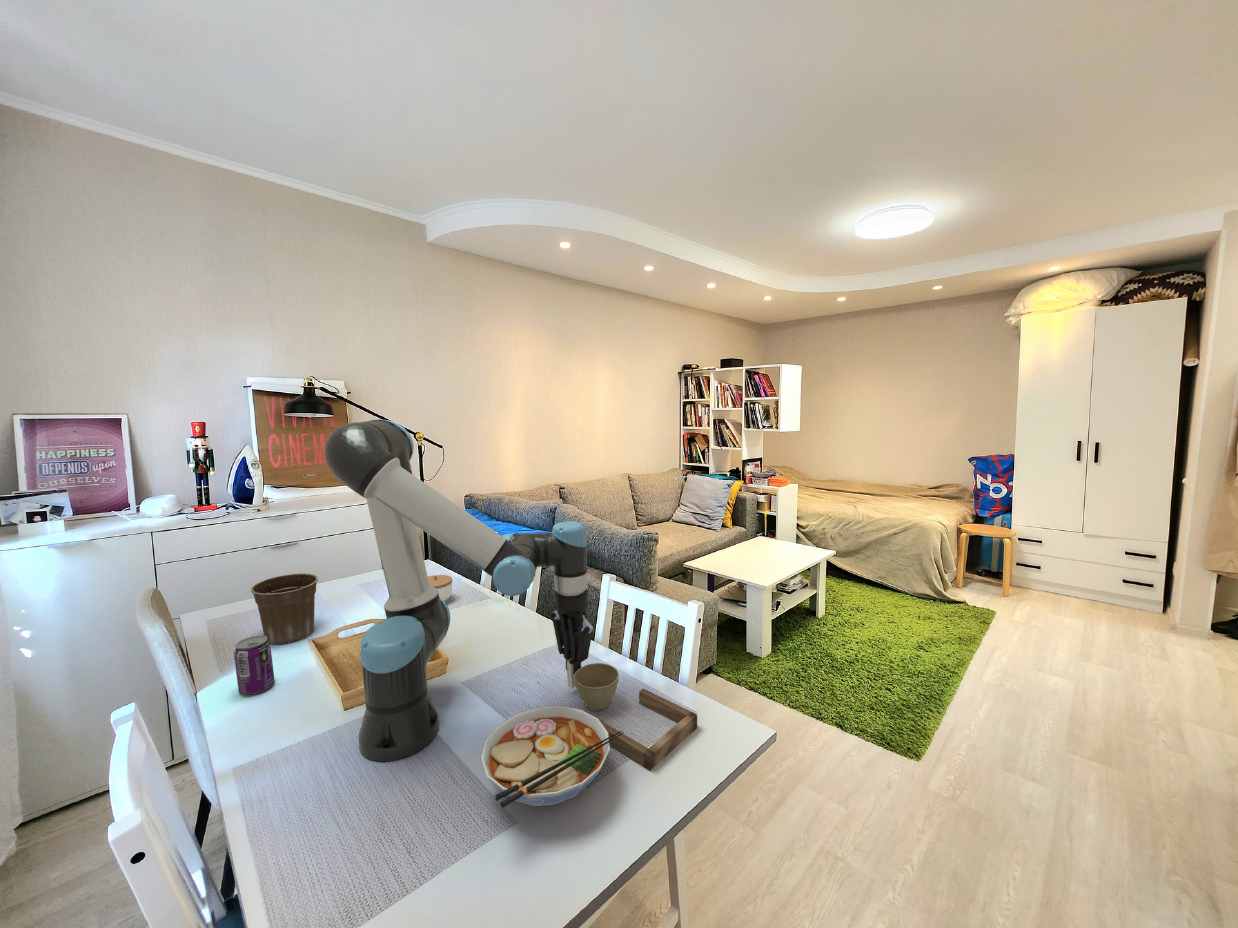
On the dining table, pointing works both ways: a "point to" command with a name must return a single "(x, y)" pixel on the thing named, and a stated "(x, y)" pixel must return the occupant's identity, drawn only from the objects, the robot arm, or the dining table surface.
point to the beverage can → (253, 665)
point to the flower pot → (596, 685)
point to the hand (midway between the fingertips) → (573, 684)
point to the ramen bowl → (545, 755)
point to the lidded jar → (441, 585)
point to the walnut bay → (666, 742)
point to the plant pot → (286, 606)
